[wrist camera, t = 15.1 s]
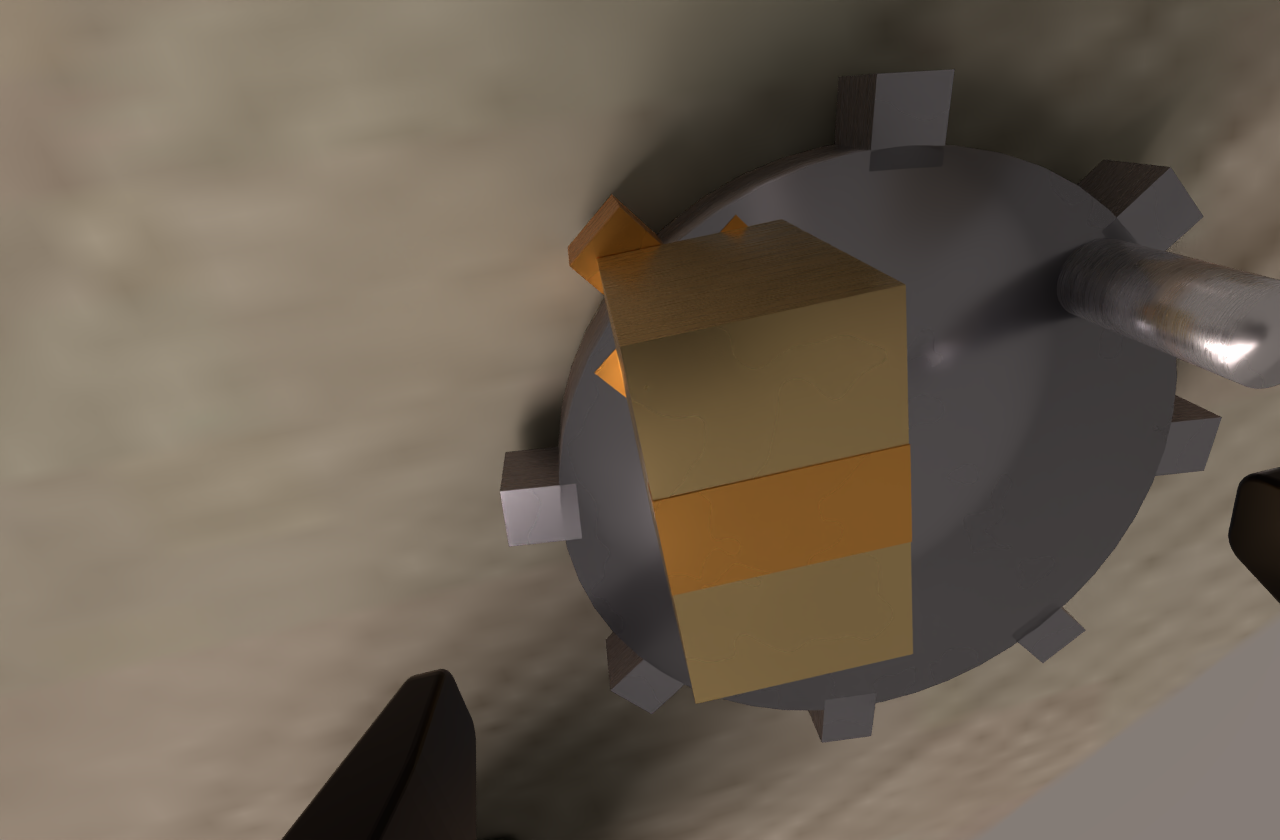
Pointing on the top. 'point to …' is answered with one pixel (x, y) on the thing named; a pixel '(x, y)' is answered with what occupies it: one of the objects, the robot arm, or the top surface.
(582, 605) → the top surface
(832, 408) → the orange banded block
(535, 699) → the top surface
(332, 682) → the top surface
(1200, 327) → the sprocket
